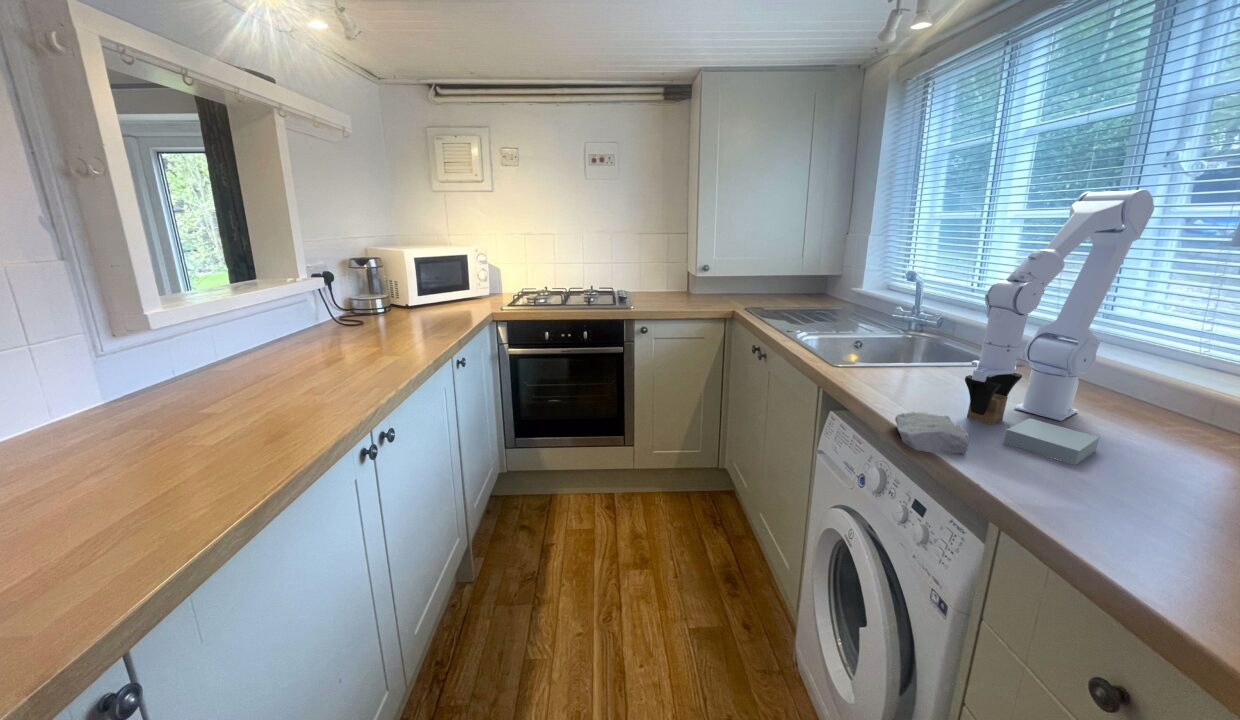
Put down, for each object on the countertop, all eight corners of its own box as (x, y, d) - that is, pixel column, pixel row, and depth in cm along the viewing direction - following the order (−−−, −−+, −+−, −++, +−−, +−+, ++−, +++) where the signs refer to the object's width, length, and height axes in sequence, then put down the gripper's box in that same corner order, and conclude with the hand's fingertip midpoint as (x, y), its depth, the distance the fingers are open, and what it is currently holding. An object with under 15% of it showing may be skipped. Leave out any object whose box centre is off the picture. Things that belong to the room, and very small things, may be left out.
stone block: (909, 461, 86) (974, 456, 84) (907, 435, 85) (973, 429, 83) (888, 435, 97) (945, 430, 95) (886, 412, 97) (943, 406, 94)
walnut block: (976, 413, 103) (982, 390, 102) (1002, 420, 100) (1007, 396, 98) (966, 417, 101) (971, 394, 99) (992, 424, 97) (997, 400, 96)
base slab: (1025, 432, 95) (1029, 418, 94) (1094, 453, 87) (1099, 437, 86) (1003, 444, 89) (1006, 429, 89) (1074, 467, 81) (1079, 450, 81)
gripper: (994, 335, 103) (980, 397, 107) (960, 343, 95) (947, 410, 99) (1035, 342, 97) (1019, 407, 101) (1003, 352, 90) (987, 422, 93)
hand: (986, 409), depth 100 cm, fingers open, 7 cm apart
